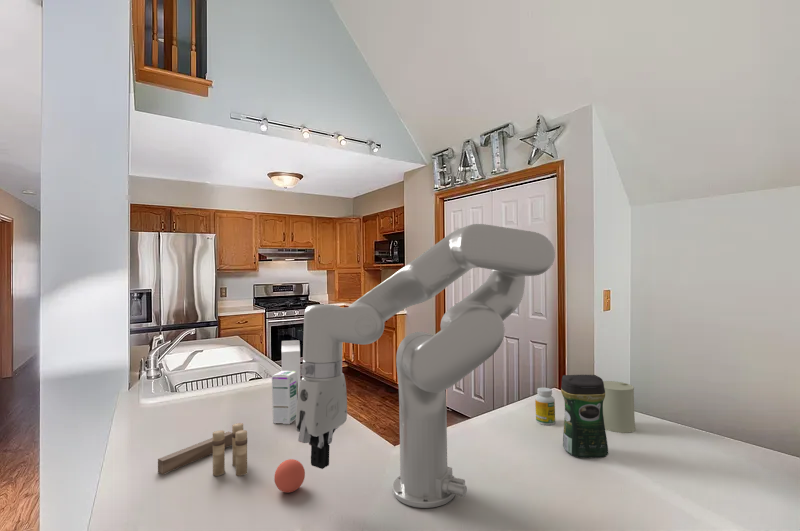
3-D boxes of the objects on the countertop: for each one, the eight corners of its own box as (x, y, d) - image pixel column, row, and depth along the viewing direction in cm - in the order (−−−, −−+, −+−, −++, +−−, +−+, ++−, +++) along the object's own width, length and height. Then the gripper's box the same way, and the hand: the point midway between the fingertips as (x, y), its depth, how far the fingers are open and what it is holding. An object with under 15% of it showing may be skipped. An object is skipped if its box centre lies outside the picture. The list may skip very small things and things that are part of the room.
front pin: (249, 472, 89) (249, 431, 89) (240, 476, 87) (240, 435, 87) (242, 469, 90) (242, 429, 90) (233, 474, 88) (232, 433, 88)
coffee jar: (597, 445, 99) (595, 371, 100) (613, 460, 92) (610, 379, 92) (558, 445, 100) (556, 371, 100) (570, 460, 92) (568, 379, 93)
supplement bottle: (541, 417, 119) (540, 385, 120) (558, 422, 116) (557, 389, 116) (532, 422, 116) (531, 389, 116) (550, 427, 112) (549, 393, 112)
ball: (311, 487, 82) (311, 457, 82) (289, 501, 77) (289, 470, 77) (290, 480, 85) (290, 451, 85) (268, 493, 80) (267, 463, 80)
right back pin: (246, 462, 93) (245, 424, 94) (236, 467, 91) (236, 427, 91) (239, 460, 95) (238, 422, 95) (229, 464, 92) (229, 425, 93)
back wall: (233, 444, 104) (233, 432, 104) (162, 474, 88) (162, 460, 88) (228, 443, 105) (228, 431, 105) (157, 472, 89) (157, 459, 89)
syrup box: (290, 424, 117) (289, 375, 118) (271, 423, 118) (271, 374, 119) (298, 417, 123) (298, 370, 123) (281, 416, 124) (280, 370, 124)
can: (643, 429, 109) (642, 385, 109) (619, 435, 106) (617, 389, 106) (614, 418, 118) (613, 378, 118) (590, 423, 114) (589, 381, 115)
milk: (300, 407, 133) (300, 341, 133) (281, 409, 131) (281, 342, 131) (299, 402, 139) (299, 338, 139) (281, 403, 137) (281, 339, 137)
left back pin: (227, 472, 89) (227, 431, 89) (217, 477, 87) (217, 435, 87) (220, 469, 90) (220, 429, 91) (210, 474, 88) (210, 433, 88)
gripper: (309, 379, 68) (306, 488, 68) (361, 364, 81) (359, 455, 80) (278, 373, 72) (275, 476, 71) (332, 360, 85) (330, 447, 84)
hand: (319, 465), depth 76 cm, fingers closed
